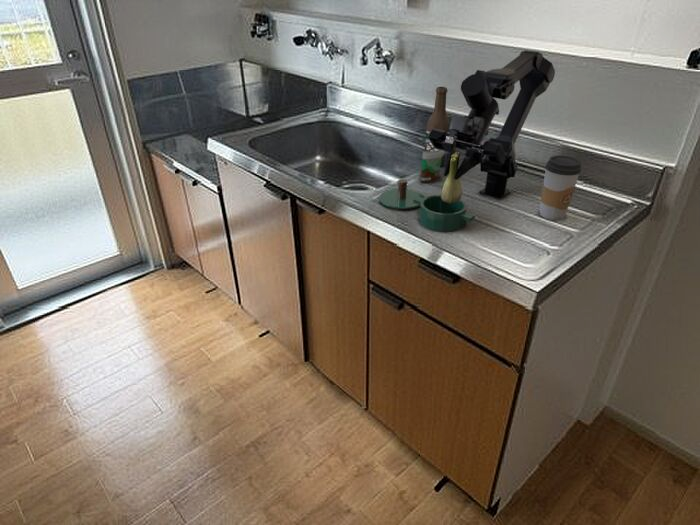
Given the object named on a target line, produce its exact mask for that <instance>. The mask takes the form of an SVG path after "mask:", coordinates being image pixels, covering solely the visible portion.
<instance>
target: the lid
mask: <svg viewBox="0 0 700 525" xmlns="http://www.w3.org/2000/svg"><path fill="white" fill-rule="evenodd" d="M407 188H408V180H407V179H404V178H401V179H398V182H397V188H392V189H388V190H385V191H383V192H381V193H380V194H379V197H378V198H379V199H378V200H379V202H380V203H381V204H382V205H383V206H386V207H388V208H391V209H397V210H411V209H416V208H420V205H419V204H416V203H413V199H415V198H417V197H422V198H425V196H424V195H423V194H422V193H420V192H418V191H416V190H412V189H407Z"/></svg>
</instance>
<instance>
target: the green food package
mask: <svg viewBox="0 0 700 525" xmlns="http://www.w3.org/2000/svg"><path fill="white" fill-rule="evenodd" d="M425 142H426V143H425V144H424V149H423V151H422V158H421V172H420V173H421V174H420V184H428V183H434V182H436V181H438V179H439V177H440V176H439V175H440V170H441V167H440V165H441V159H442V156H443V155H444V154H445V152H444V150H440V149H436V148H435V147H434V146H433V145H432V143H431V142H430V140H427V139H426V138H425Z"/></svg>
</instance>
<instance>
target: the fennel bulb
mask: <svg viewBox="0 0 700 525" xmlns="http://www.w3.org/2000/svg"><path fill="white" fill-rule="evenodd" d="M460 156H461V152H460V151H457V152H455V154H452V156H451V160H450V172H449V174H448V175H447V176H446V179H445V181H444V183H443V186H442V190H441V194H440V195H441V199H442V200H443V201H444V202H447V203H455V202H458V201H459V200H460V199H461V200H462V197H463V186H462V183H461V179H460V178H459V179H457V180H456V179H455V178H454V177H455V175H456V172H457V170H458V168H459V166H460Z"/></svg>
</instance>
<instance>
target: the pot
mask: <svg viewBox="0 0 700 525" xmlns="http://www.w3.org/2000/svg"><path fill="white" fill-rule="evenodd" d="M441 195H442V194H434V195H430V196H426V197H424V198H422V197H417V198H415V199H413V203H416V204H419V205H420V206H419V217H418V220H419V224H420V225H421V226H423V227H424V228H425V229H427V230H429V231H433V232H440V233H451V232H455V231H459V230H461V229H462V228H464V226H465V222H468V223H471V222H472V221H473V220H475V218H476V214H473V213H470V212H467V209H468V208H467V207H468V205H467V203H466V202H465V201H464V200H463V199H462V198H461V199H460V200H459V201H458V202H455V203H447V202H444V201H443V200H442V199H441Z"/></svg>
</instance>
